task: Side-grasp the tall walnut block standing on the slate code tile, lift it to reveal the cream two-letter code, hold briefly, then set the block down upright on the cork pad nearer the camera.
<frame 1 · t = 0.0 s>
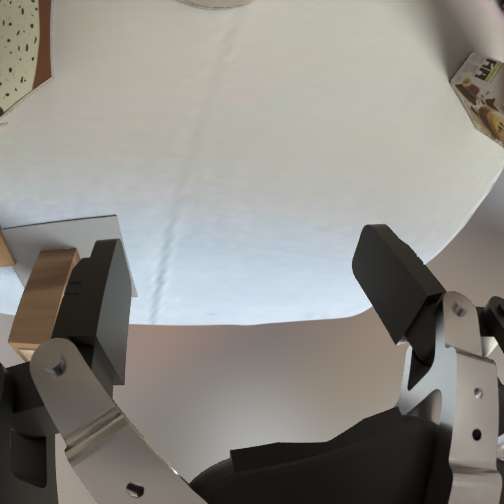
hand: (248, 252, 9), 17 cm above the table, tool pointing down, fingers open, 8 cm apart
food container: (23, 37, 13), on the table
coffee box: (474, 91, 23), on the table
walnut block: (64, 266, 29), resting on code tile
code tile: (64, 264, 29), on the table
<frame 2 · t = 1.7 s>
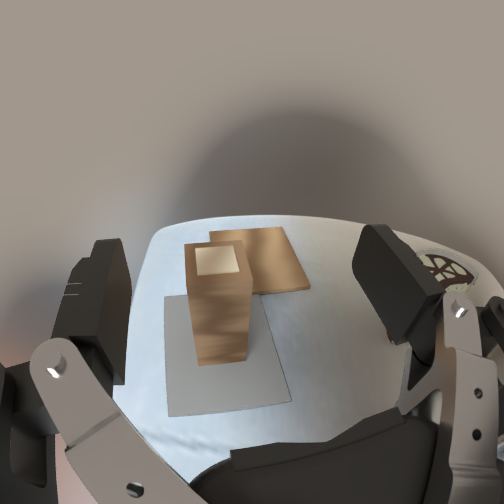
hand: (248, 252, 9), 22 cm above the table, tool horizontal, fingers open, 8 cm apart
food container: (406, 318, 35), on the table
cork pad: (255, 259, 43), on the table
walnut block: (218, 344, 31), resting on code tile
code tile: (219, 345, 31), on the table
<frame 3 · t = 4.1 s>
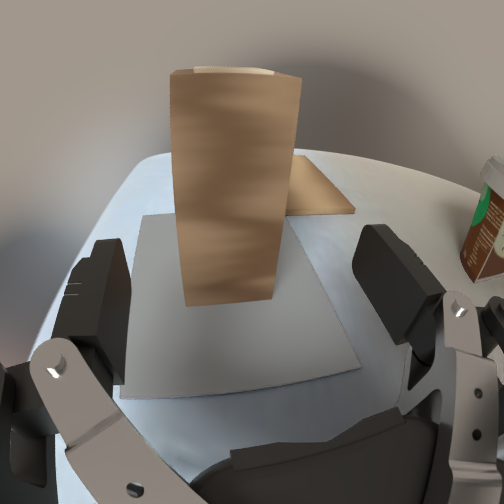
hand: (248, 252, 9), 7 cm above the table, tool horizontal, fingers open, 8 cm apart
food container: (479, 258, 23), on the table
cork pad: (274, 181, 31), on the table
walnut block: (223, 274, 19), resting on code tile
code tile: (223, 276, 19), on the table
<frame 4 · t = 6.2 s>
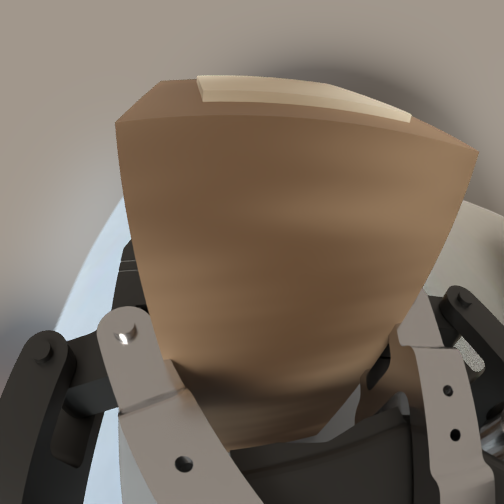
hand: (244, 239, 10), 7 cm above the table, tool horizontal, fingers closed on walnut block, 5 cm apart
walnut block: (248, 397, 12), resting on code tile, touching gripper
code tile: (248, 399, 12), on the table
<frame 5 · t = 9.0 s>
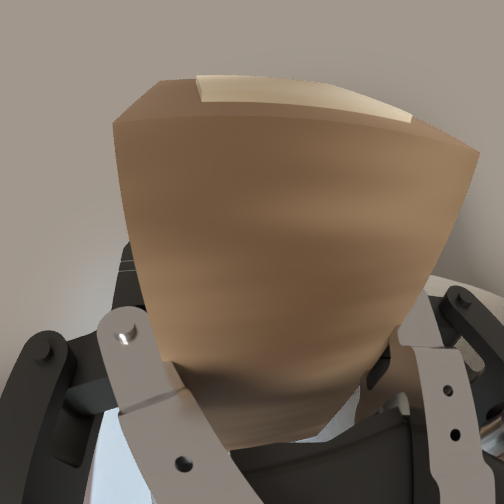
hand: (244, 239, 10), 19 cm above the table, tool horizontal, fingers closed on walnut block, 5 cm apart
walnut block: (248, 398, 12), point 12 cm above the table, touching gripper
when the fingers open (8 cm above the table, at t = 12.1 s): walnut block stays where it is, resting on cork pad.
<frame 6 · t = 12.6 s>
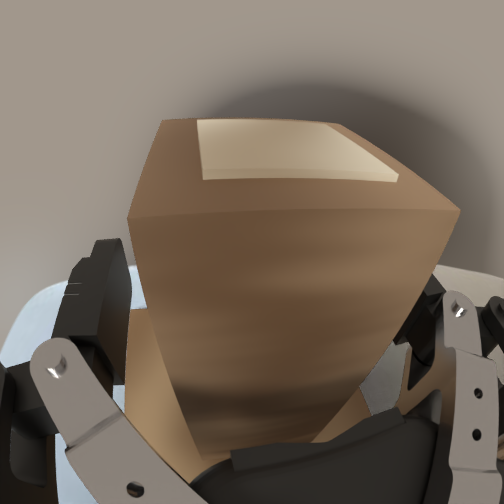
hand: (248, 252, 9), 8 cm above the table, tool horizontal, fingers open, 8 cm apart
cork pad: (246, 411, 13), on the table
walnut block: (247, 406, 13), point 1 cm above the table, touching cork pad
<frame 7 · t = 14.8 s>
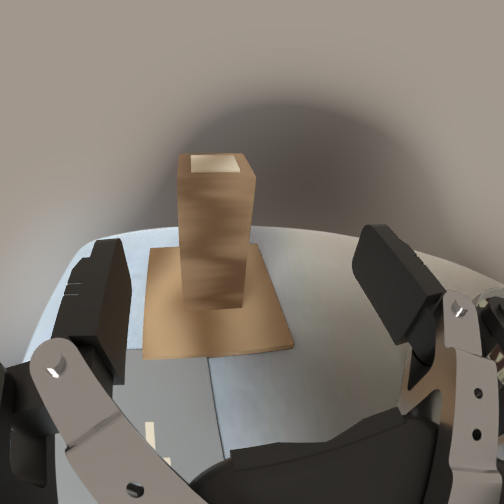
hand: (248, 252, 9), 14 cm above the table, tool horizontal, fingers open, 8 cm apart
food container: (440, 391, 20), on the table
cork pad: (209, 294, 27), on the table
walnut block: (210, 289, 27), point 1 cm above the table, touching cork pad
code tile: (131, 444, 15), on the table
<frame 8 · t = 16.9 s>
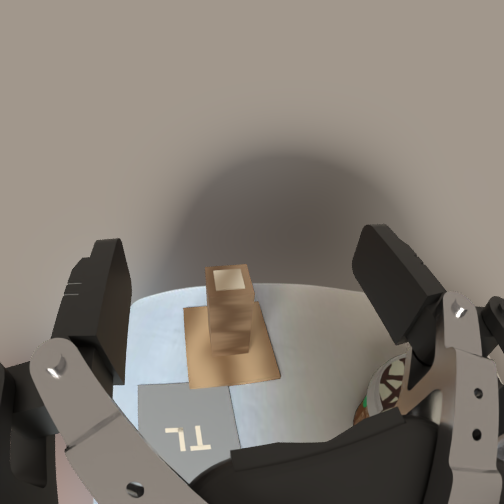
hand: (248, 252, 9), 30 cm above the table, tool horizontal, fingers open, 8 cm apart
food container: (377, 407, 33), on the table
cork pad: (227, 343, 41), on the table
walnut block: (227, 340, 41), point 1 cm above the table, touching cork pad
code tile: (187, 439, 29), on the table
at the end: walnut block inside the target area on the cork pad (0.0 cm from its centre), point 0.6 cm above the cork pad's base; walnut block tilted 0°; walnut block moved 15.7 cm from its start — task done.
